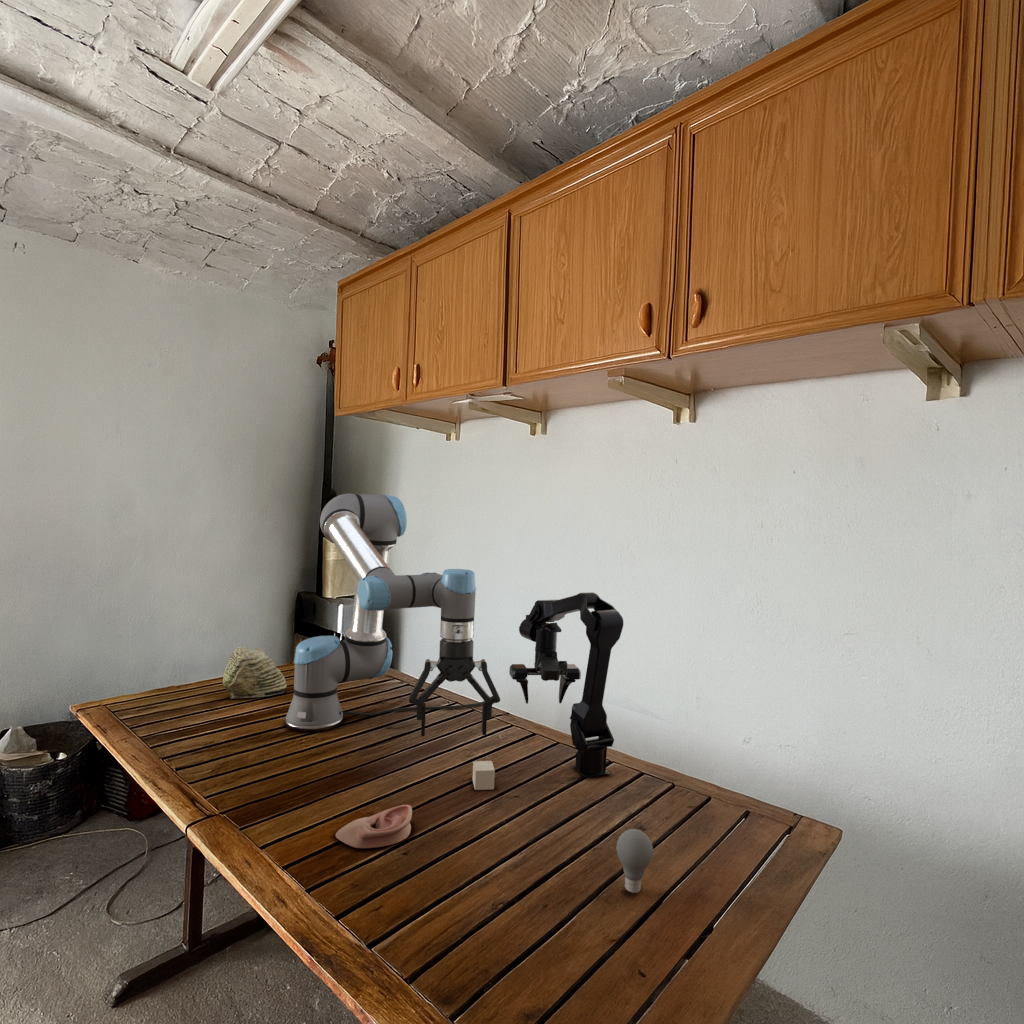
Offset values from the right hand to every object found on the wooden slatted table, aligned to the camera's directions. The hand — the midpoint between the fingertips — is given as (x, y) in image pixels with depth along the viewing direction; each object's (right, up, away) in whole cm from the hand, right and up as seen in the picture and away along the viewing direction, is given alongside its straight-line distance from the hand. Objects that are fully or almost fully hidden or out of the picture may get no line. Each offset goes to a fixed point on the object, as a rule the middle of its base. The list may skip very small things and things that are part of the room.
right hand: (543, 703), depth 172 cm
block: (-15, -10, -29) cm, 34 cm away
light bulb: (+12, -11, -66) cm, 68 cm away
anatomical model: (-35, -9, -52) cm, 63 cm away
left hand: (-22, +2, -30) cm, 37 cm away
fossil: (-89, -5, +26) cm, 93 cm away
